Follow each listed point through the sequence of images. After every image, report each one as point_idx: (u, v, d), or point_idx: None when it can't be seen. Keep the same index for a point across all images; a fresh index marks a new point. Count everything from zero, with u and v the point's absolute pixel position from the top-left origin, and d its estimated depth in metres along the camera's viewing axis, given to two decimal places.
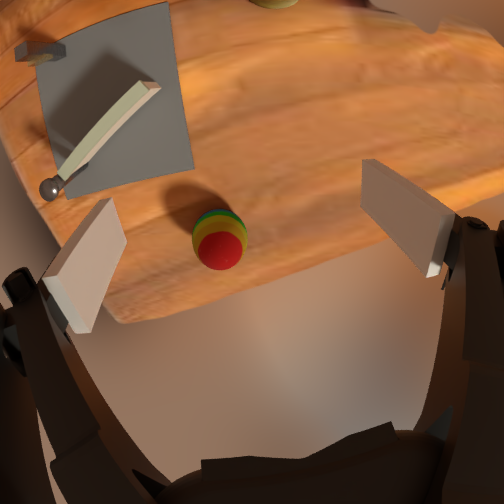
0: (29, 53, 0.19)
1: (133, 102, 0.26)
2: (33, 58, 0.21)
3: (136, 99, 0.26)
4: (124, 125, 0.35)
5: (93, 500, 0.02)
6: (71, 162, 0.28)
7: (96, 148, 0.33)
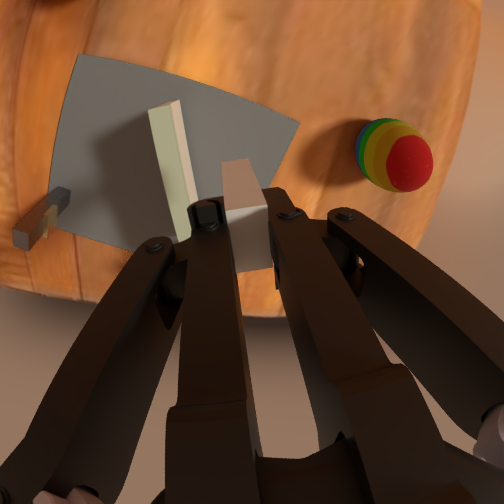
0: (30, 230, 0.21)
1: (171, 131, 0.19)
2: (41, 228, 0.23)
3: (170, 126, 0.19)
4: (194, 165, 0.30)
5: (199, 468, 0.03)
6: None
7: None
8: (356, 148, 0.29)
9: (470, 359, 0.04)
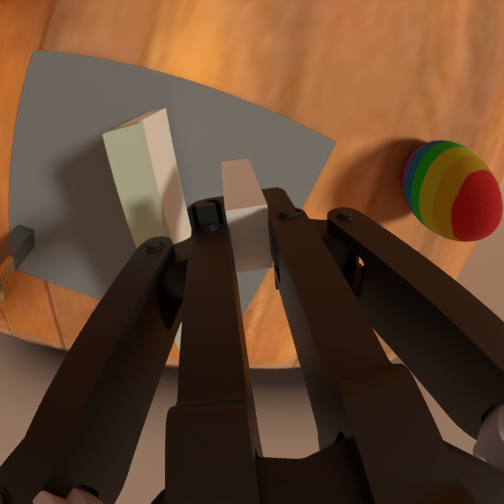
0: None
1: (144, 171, 0.11)
2: None
3: (142, 161, 0.11)
4: (189, 200, 0.22)
5: (199, 468, 0.03)
6: None
7: None
8: (407, 179, 0.21)
9: (470, 359, 0.04)
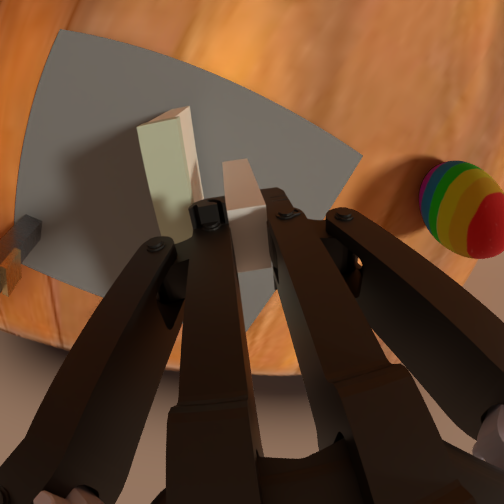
0: None
1: (181, 169, 0.11)
2: None
3: (179, 158, 0.11)
4: None
5: (200, 468, 0.03)
6: None
7: None
8: (425, 196, 0.21)
9: (469, 359, 0.04)
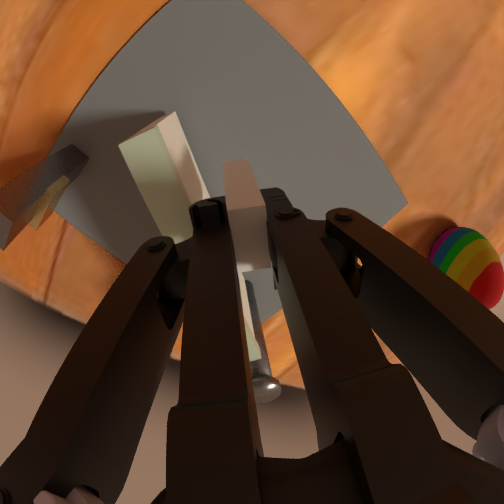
0: (17, 215, 0.10)
1: (169, 175, 0.11)
2: (33, 211, 0.12)
3: (165, 165, 0.11)
4: None
5: (200, 468, 0.03)
6: None
7: None
8: (441, 250, 0.25)
9: (469, 359, 0.04)
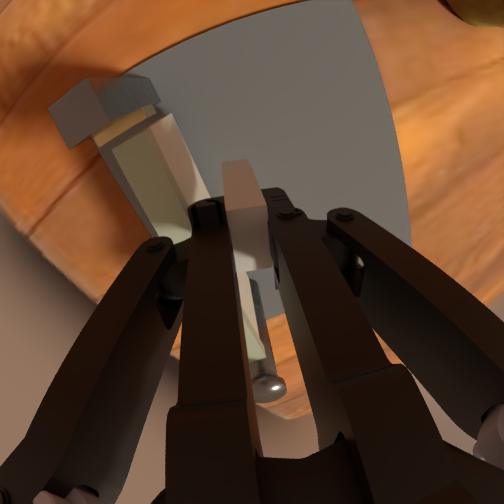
0: (113, 116, 0.09)
1: (163, 177, 0.11)
2: (112, 124, 0.11)
3: (158, 167, 0.11)
4: (319, 219, 0.24)
5: (199, 468, 0.03)
6: None
7: None
8: None
9: (470, 359, 0.04)
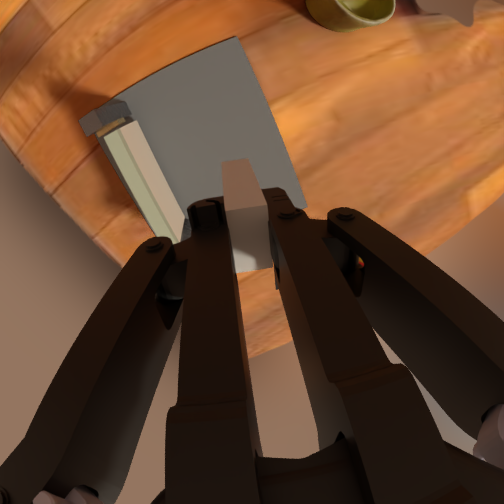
0: (104, 124, 0.23)
1: (124, 148, 0.25)
2: (104, 127, 0.25)
3: (122, 144, 0.25)
4: None
5: (199, 468, 0.03)
6: (163, 234, 0.31)
7: (170, 203, 0.35)
8: None
9: (470, 359, 0.04)
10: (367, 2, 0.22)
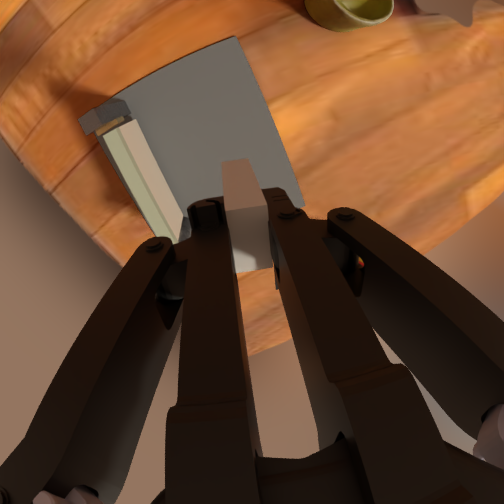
0: (103, 123, 0.23)
1: (123, 146, 0.25)
2: (103, 126, 0.25)
3: (121, 142, 0.25)
4: None
5: (199, 468, 0.03)
6: (161, 232, 0.31)
7: (168, 202, 0.35)
8: None
9: (470, 359, 0.04)
10: (365, 2, 0.22)
